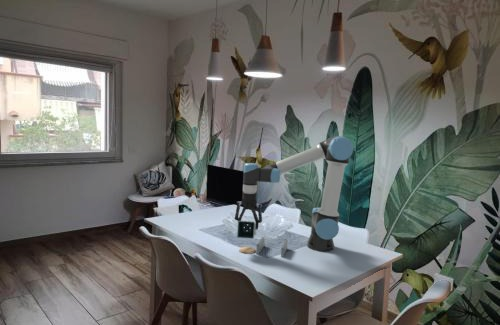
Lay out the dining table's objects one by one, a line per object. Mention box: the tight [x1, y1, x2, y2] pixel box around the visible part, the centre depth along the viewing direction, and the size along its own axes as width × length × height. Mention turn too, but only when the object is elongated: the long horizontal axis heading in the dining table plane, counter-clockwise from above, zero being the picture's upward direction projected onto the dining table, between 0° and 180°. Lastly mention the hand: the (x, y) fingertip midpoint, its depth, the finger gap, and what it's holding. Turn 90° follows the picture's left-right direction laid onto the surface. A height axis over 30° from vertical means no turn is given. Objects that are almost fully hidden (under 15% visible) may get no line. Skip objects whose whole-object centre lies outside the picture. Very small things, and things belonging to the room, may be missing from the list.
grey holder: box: [255, 236, 288, 258], centre depth 196 cm, size 14×14×5 cm
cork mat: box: [238, 246, 257, 255], centre depth 195 cm, size 9×9×1 cm
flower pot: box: [236, 220, 255, 240], centre depth 191 cm, size 9×9×9 cm
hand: (247, 233), depth 194 cm, fingers closed on flower pot, 7 cm apart
